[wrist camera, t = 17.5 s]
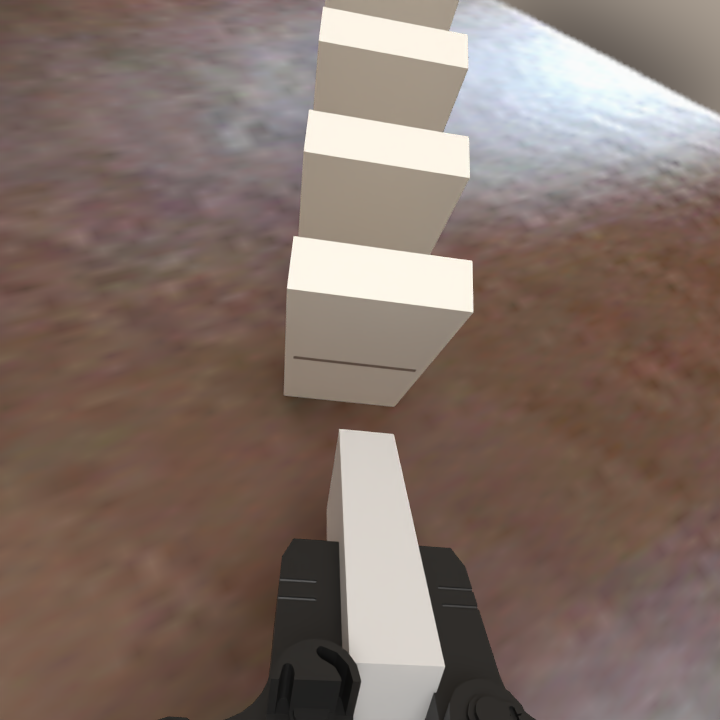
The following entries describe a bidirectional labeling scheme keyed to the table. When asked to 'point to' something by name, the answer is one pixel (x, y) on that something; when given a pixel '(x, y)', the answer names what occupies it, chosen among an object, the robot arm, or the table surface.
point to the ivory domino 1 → (403, 10)
